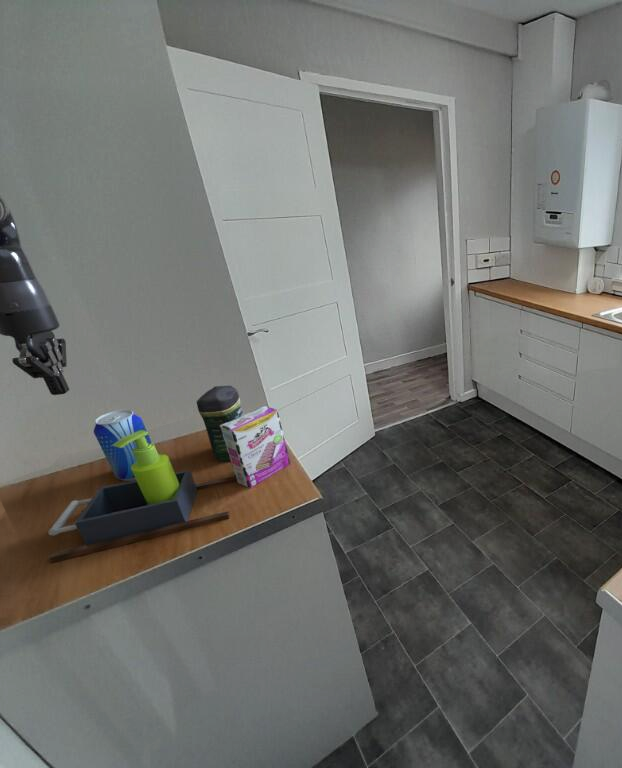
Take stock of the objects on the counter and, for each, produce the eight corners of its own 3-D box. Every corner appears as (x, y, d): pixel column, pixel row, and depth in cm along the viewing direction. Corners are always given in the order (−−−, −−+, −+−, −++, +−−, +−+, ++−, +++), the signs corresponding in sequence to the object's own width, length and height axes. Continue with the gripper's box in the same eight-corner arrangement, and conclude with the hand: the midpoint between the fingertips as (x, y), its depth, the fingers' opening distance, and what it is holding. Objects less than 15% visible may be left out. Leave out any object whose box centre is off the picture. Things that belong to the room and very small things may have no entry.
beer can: (112, 475, 99) (84, 418, 93) (154, 458, 106) (131, 404, 99) (124, 488, 95) (95, 430, 88) (167, 470, 101) (143, 414, 95)
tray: (54, 555, 77) (40, 531, 74) (81, 516, 86) (69, 493, 84) (186, 523, 85) (177, 500, 82) (197, 491, 94) (189, 469, 92)
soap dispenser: (142, 521, 86) (102, 441, 77) (175, 500, 92) (142, 423, 83) (162, 527, 84) (125, 446, 76) (195, 505, 90) (163, 428, 82)
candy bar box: (251, 490, 95) (231, 430, 88) (237, 484, 97) (217, 425, 90) (292, 465, 104) (278, 409, 98) (279, 459, 106) (264, 404, 99)
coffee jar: (245, 461, 106) (225, 398, 98) (211, 465, 104) (187, 401, 96) (258, 441, 114) (240, 381, 106) (226, 444, 113) (206, 384, 105)
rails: (51, 562, 76) (48, 557, 75) (86, 512, 88) (83, 507, 87) (229, 519, 87) (227, 514, 86) (238, 479, 99) (236, 475, 98)
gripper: (11, 299, 77) (52, 383, 84) (-36, 316, 66) (14, 411, 73) (65, 296, 80) (99, 378, 87) (27, 312, 69) (70, 403, 76)
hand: (60, 393), depth 80 cm, fingers closed
